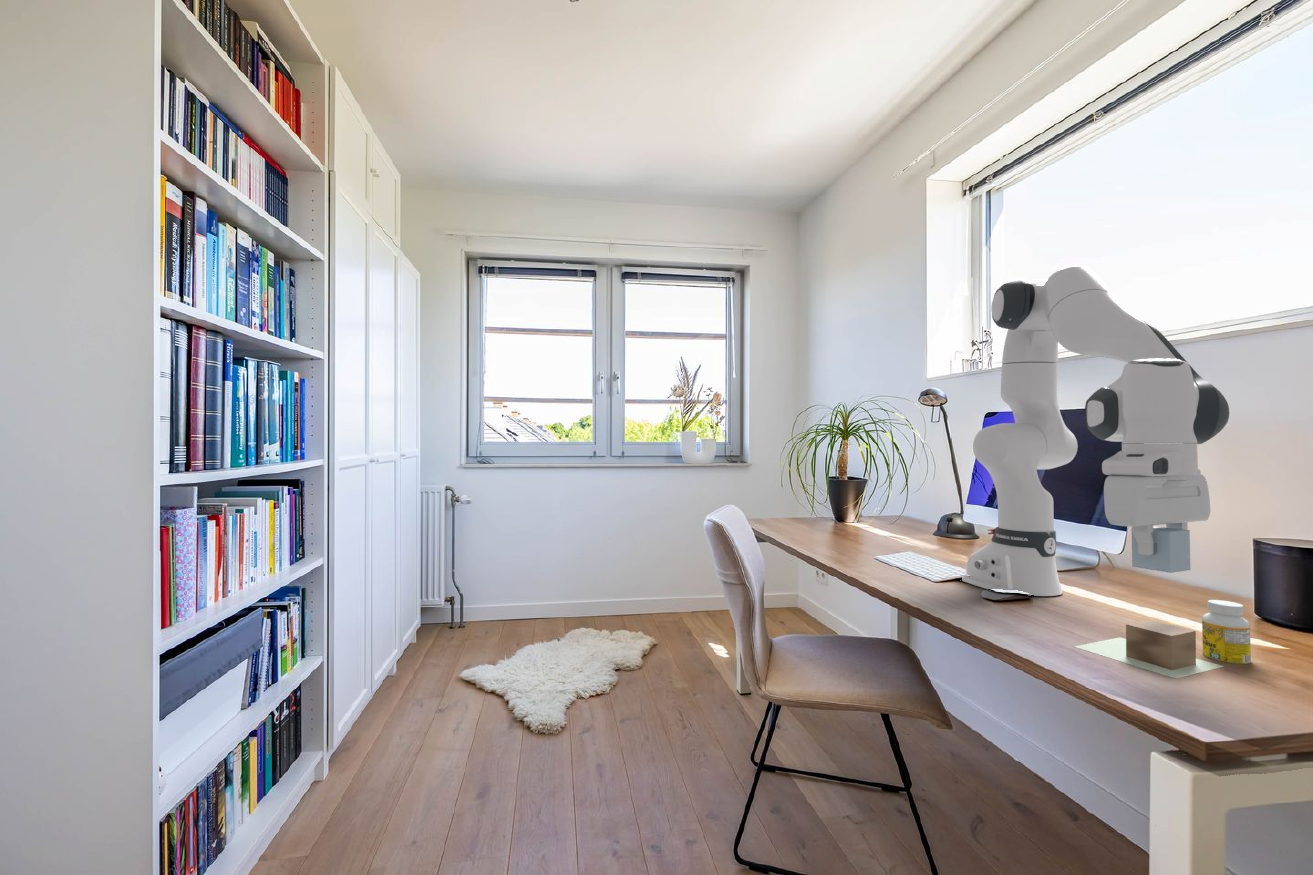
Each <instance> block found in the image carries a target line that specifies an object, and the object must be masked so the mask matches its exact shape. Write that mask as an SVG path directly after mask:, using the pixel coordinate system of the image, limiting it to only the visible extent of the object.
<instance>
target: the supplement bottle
mask: <svg viewBox="0 0 1313 875" xmlns="http://www.w3.org/2000/svg"><path fill="white" fill-rule="evenodd" d="M1206 608H1207V609H1208V611H1209V612H1207V613H1205V614H1203V616H1202V618H1201V621H1202V622H1201V626H1202V630H1201V631H1202V637H1201V638H1202V655H1204V657H1207V658H1210V659H1212V660H1215V661H1220V662H1224V663H1228V664H1238V665H1247V664H1248V665H1249V664H1251V662H1252V658H1251V657H1252V655H1251V654H1252V652H1251V625H1250V622H1249V621H1248V620H1247V619H1246V618H1244V617H1242V616H1243V615H1244V613H1245V612H1244V611H1245V610H1244V605H1243V604H1242V603H1238V602H1234V601H1229V600H1221V599H1220V600H1219V599H1209V600H1207V607H1206Z"/></svg>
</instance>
